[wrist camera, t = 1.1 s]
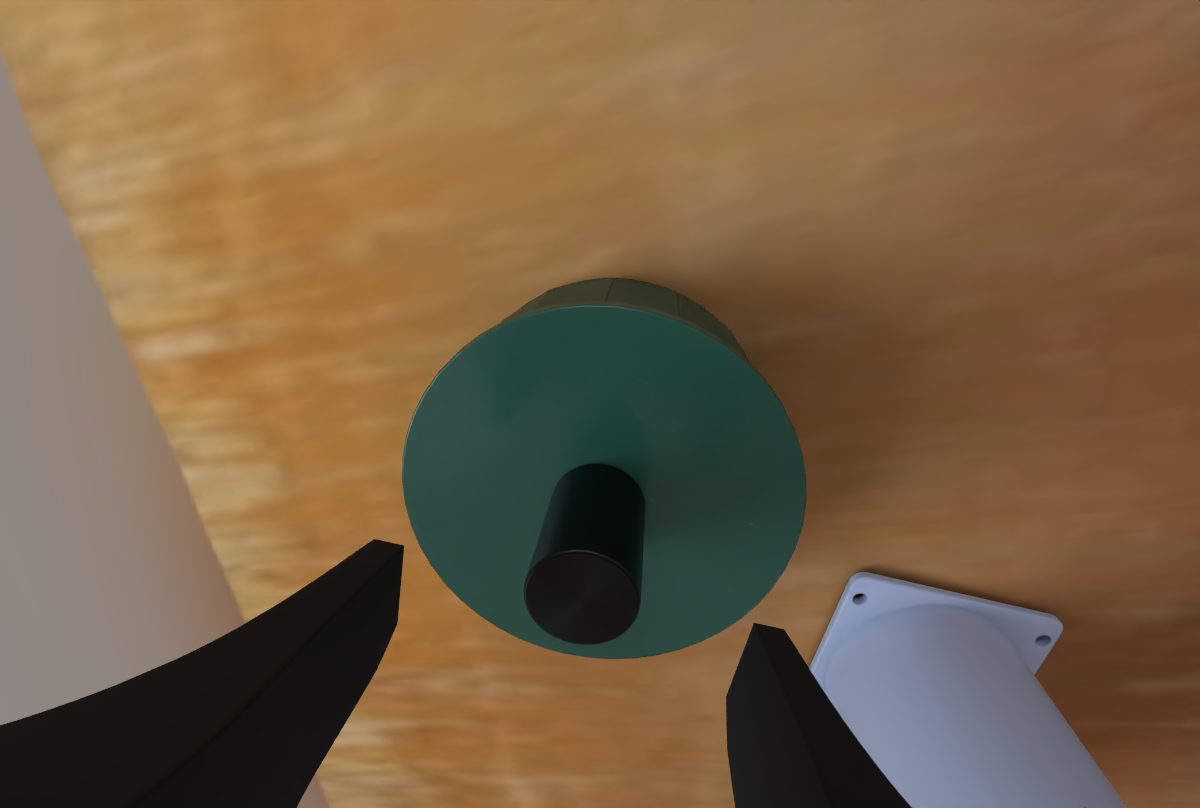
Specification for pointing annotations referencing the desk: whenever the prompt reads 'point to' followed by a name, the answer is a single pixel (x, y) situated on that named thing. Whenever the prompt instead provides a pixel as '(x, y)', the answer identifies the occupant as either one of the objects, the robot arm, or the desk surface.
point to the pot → (634, 302)
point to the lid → (604, 480)
